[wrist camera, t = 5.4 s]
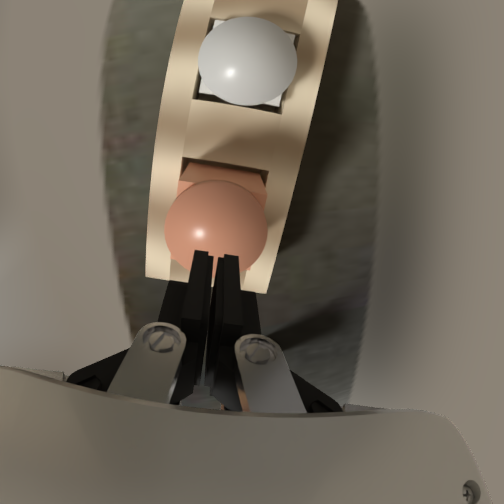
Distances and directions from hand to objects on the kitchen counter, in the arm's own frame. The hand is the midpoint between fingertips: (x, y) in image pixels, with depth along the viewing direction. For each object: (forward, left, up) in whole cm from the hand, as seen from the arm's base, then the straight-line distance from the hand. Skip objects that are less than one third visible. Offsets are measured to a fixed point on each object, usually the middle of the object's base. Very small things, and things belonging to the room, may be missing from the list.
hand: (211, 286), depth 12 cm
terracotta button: (0, 0, -11) cm, 12 cm away
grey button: (-10, 0, -14) cm, 17 cm away
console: (-5, 0, -16) cm, 16 cm away
